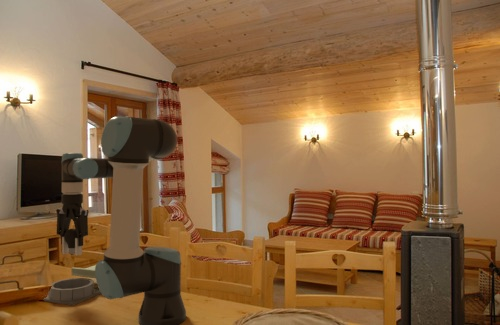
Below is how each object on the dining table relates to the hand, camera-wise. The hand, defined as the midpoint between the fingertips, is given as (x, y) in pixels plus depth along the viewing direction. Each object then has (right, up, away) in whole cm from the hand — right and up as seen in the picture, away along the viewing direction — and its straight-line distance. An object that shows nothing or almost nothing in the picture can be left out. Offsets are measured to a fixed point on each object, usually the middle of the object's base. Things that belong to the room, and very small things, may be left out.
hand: (72, 253), depth 157 cm
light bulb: (0, -1, 0) cm, 1 cm away
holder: (0, -16, 0) cm, 16 cm away
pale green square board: (+6, -11, +15) cm, 20 cm away
